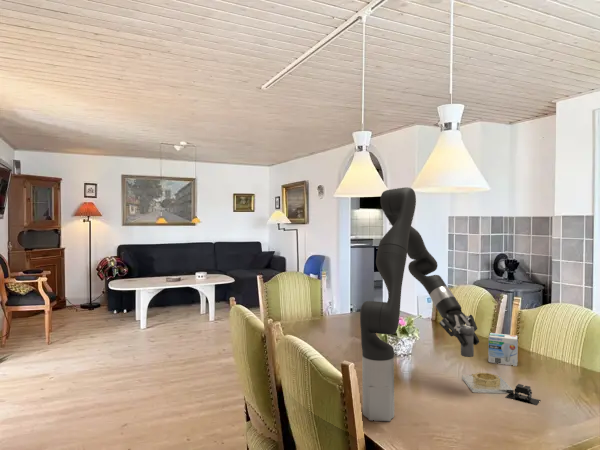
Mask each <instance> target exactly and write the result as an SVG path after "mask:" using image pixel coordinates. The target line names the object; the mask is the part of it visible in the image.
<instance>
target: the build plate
mask: <svg viewBox="0 0 600 450" xmlns="http://www.w3.org/2000/svg"><path fill="white" fill-rule="evenodd" d="M531 388H532V387H531V386H528V385H524V384H521V383H518V384H517V385H516V386H515V388H514V389H513V390H514V393H512V394H508V393H507V395H506V396H505V397H504V398H505V399H509V400H512V399H513V401H517V402H521V403H525V404H527V405H528V404H529V405H533V406H538V405H539V404H540V402H541V401H542V400H541V399H538V398H534V397H532V396H533V395H532V394H533V392H532V391H533V390H532V389H531ZM539 401H540V402H539Z"/></svg>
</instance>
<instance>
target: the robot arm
mask: <svg viewBox="0 0 600 450" xmlns="http://www.w3.org/2000/svg"><path fill="white" fill-rule="evenodd" d="M380 206H381V209H382V211H383V214H384V215H385V217H386V219H387V220H388V222H389V223H390V225H391V227H390V229H389V230H388V231H387V232H386V233H385V234H384V235H383V237H382V239H381V240H380V241H379V243H378V248H377V253H376V259H375V264H376V265H375V266H376V268H377V271H378V273H379V275H380V276H381V278H382V281H383V282H384V284H385V286H386V290H387V294H388V296H387V301H375V300H374V301H373V300H367V301H363V303H362V305H361V307H360V313H359V314H360V315H359V319H360V320H359V325H360V339H361V340H360V343H361V351H362V353H361V355H362V367H361V369H362V370H361V371H362V374H361V375H362V378H361V379H362V380H361V381H362V382H361V383H362V415H363V416H364V417H365V418H367V419H368V421H373V420H374V421H375V422H376V421H377V422H380V421H381V422H391V421H392V419H393V418H394V417H395V360H394V359H395V350H394V347H393V346H392V345H391V344H389V343H388V342H386V341H384V340H383V339H381V338H380V337H379V336H378V335H377V334H380V335H392V336H393V335H395V334H396V333H397V330H398V328H399V324H400V312H401V298H402V288H403V280H404V273H405V269H406V264H407V256H408V257H409V259H411V260H412V261H410V262H409V263H408V266H407V267H408V271H409V273H410V274H411V276H412V277H413V278H414V279H416V280H417V281H418V282H419V283H420V284H421V285H422V286H423V287H424V289H425V290H426V292H427V294H428V295H429V298H430V299H431V302H432V303H433V305H434V307H435V309H436V310H437V312H438V313H439V315H440V317H441V318H442V319H441V320H440V321H439V326H440V327H442V328H443V330H444V331H445V332H446V333H447V334H448V335H449V336H450V337H455V338H457V340H458V342H459V343H460V346H461V345H462V346H463V347H466V346H467V345H468V342H467V340H466V338H465V337H464V335H463V334H461V333H462V332H461V330H460V326H462V325H468V326H473V327H474V334H473V337H474V346H477V345H479V343H480V339H479V337H478V335H477V334H476V333H475V332H476V331H477V330H478V327H477V324H476V321H475V319H474V316H473V314H470V315H466V314H465V313H464V312H463V310H462V306H461V305H460V302H458V300H457V299H456V297H455V295H454V294H453V292H452V291H451V290H450V288H449V287H448V286H447V284H446V282H445V281H444V279H443V278H442V276H440V275H439V274H432V275H429V274H431V273H434V272H435V271H436V270H437V269H438V262H437V260H436V258H435V257H434V256H433V254H431V253H430V252H429V251H428V249H427V247H426V244H425V242H424V239H423V237H422V235H421V234H420V232H419V231H418V230H417V229H416V228H415V227H413V226H412V223H413V220H414V216H415V211H416V206H417V197H416V193H415V190H414V189H413V188H412V187H397V188H393V189H392V188H390V189H386V190H384V191H383V192H381V195H380ZM374 421H373V422H374Z"/></svg>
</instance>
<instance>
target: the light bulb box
mask: <svg viewBox="0 0 600 450" xmlns="http://www.w3.org/2000/svg"><path fill="white" fill-rule="evenodd" d="M518 338H519V337H518V335H515V334H514V335H513V334H505V333H504V334H503V333H494V332H490V333H489V335H488V345H487V346H488V347H487V348H488V354H487V355H488V356H487V357H488V363H490V364H497V363H498V365H504V364H505V365H506V366H511V365H513V366H512V367H517V366H518V355H519V354H518V353H519V352H518V351H519V349H518V347H519V343H518V340H519V339H518Z"/></svg>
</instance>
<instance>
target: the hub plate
mask: <svg viewBox="0 0 600 450" xmlns="http://www.w3.org/2000/svg"><path fill="white" fill-rule="evenodd" d="M461 379H462V380H463V382H464V383H465V384H466V386H467V387H468V388H469V389H470V391H471V392H472V393H476V394H478V393H479V394H480V393H484V394H507V395H508V394H512V393H514V394H515V392H514V390H515V389H513V388H512V387H511V386H510V385H509V384H508V383H507V382H506V381H505V380H504V379H503V378H502V377H501V376H500V375H497V374H495V373H489V372H481V371H480V372H475V373H471V374H470V375H469V374H467V375H466V374H463V375H461Z"/></svg>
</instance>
